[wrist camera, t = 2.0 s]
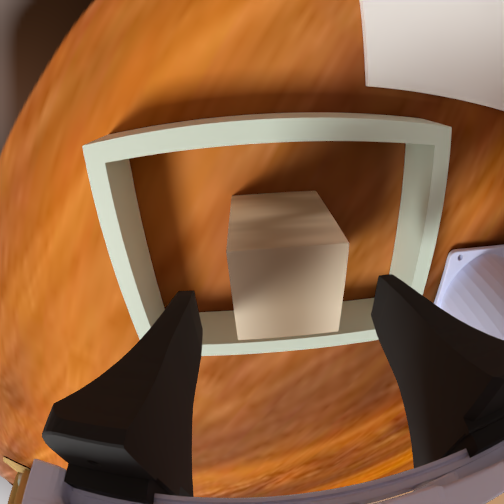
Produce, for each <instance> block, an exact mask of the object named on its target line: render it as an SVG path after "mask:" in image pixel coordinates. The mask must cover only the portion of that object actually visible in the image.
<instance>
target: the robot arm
mask: <svg viewBox="0 0 504 504" xmlns="http://www.w3.org/2000/svg"><path fill="white" fill-rule="evenodd" d="M459 255H460V256H459ZM458 256H459V257H458ZM371 317H372V320H373V324H374V327H375V330H376V334H377V337H378V339H379V341H380V343H381V346H382V348H383V350H384V352H385V355H386V357H387V359H388V361H389V364H390V366H391V368H392V370H393V373H394V375H395V377H396V380H397V383H398V385H399V388H400V392H401V396H402V399H403V403H404V407H405V411H406V416H407V420H408V425H409V431H410V437H411V443H412V452H413V462H414V469H411V470H408V471H405V472H401V473H398V474H395V475H391V476H388V477H384V478H380V479H377V480H373V481H369V482H364V483H360V484H356V485H351V486H346V487H341V488H336V489H330V490H324V491H318V492H311V493H303V494H295V495H285V496H273V497H256V498H203V497H193V482H192V414H193V402H194V395H195V389H196V383H197V378H198V372H199V366H200V360H201V354H202V338H203V328H202V324H201V320H200V315H199V311H198V306H197V302H196V297H195V293H194V291H179V292H178V293H177V294H176V295H175V297H174V298H173V299H172V301H171V302H170V303H169V305H168V306H167V307H166V309H165V310H164V311H163V313H162V314H161V315H160V317H159V318H158V319H157V320H156V322H155V323H154V324H153V325H152V327H151V328H150V329H149V330H148V331H147V333H146V334H145V335H144V336H143V337H142V338H141V339H140V341H139V342H138V343H137V344H136V345H135V346H134V347H133V348H132V349H131V350H130V351H129V352H128V353H127V354H126V355H125V356H124V357H123V358H122V359H121V360H119V361H118V362H117V363H116V364H115V365H113V366H112V367H111V368H110V369H108V370H107V371H106V372H105V373H103V374H102V375H101V376H99V377H98V378H97V379H95V380H94V381H92V382H91V383H89V384H88V385H86V386H85V387H83V388H82V389H80V390H78V391H77V392H75V393H73V394H71V395H69V396H67V397H66V398H64V399H62V400H60V401H58V402H56V403H54V404H53V407H52V409H51V412H50V414H49V417H48V419H47V422H46V425H45V427H44V430H43V433H42V437H43V439H44V441H45V443H46V444H47V445H48V446H49V447H50V448H51V449H52V450H53V451H55V452H56V453H57V454H58V455H59V456H60V457H62V458H63V459H64V460H65V461H67V462H68V463H69V464H68V468H67V470H65V469H64V468H61V467H59V466H56V465H53V464H50V463H47V462H44V461H41V460H38V459H34V461H33V465H32V468H31V471H30V474H29V478H28V481H27V485H26V488H25V492H24V496H23V500H22V504H367V503H371V502H376V501H379V500H383V499H386V498H390V497H393V496H396V495H399V494H403V493H406V492H409V491H412V490H414V491H413V492H411V493H408V494H405V495H402V496H399V497H396V498H392V499H389V500H385V501H382V502H379V503H375V504H486V503H487V502H489V501H491V500H493V499H494V498H496V497H497V496H499V495H501V494H502V493H504V245H494V246H484V247H474V248H463V249H454V250H452V251H450V253H449V254H448V257H447V261H446V264H445V268H444V272H443V275H442V279H441V282H440V285H439V289H438V292H437V295H436V298H435V301H434V303H432V302H431V301H429V300H428V299H427V298H425V297H424V296H422V295H421V294H420V293H418V292H417V291H416V290H414V289H413V288H411V287H410V286H409V285H407V284H406V283H405V282H403V281H402V280H400V279H399V278H397V277H396V276H394V275H393V274H390V275H380V276H379V277H378V282H377V288H376V293H375V298H374V303H373V307H372V312H371Z"/></svg>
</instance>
